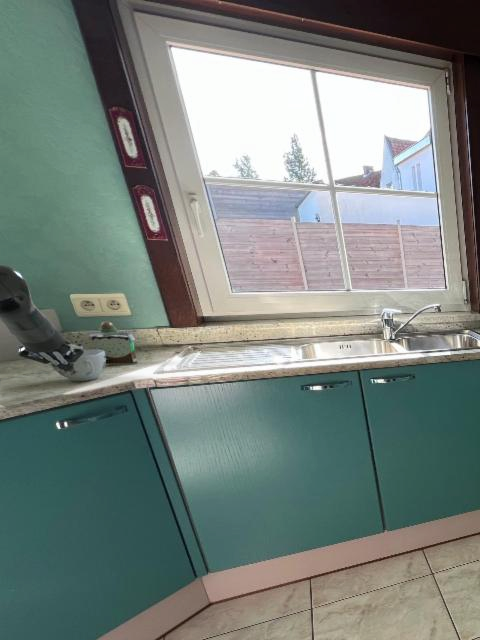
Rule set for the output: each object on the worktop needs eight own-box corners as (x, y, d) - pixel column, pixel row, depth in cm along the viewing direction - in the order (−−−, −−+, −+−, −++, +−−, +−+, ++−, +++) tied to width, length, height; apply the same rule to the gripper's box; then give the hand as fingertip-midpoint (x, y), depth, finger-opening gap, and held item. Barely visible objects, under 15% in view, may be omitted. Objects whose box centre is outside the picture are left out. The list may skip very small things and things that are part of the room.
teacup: (47, 380, 146) (37, 353, 143) (102, 372, 156) (93, 347, 153) (68, 387, 139) (57, 359, 137) (124, 379, 150) (115, 353, 147)
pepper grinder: (113, 357, 178) (102, 322, 173) (105, 356, 179) (93, 321, 174) (129, 355, 182) (118, 321, 177) (120, 354, 183) (109, 320, 179)
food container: (151, 360, 175) (142, 332, 171) (139, 364, 169) (129, 334, 165) (111, 360, 173) (101, 331, 169) (97, 364, 167) (87, 334, 163)
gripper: (69, 317, 128) (99, 355, 143) (-4, 319, 122) (35, 359, 136) (70, 340, 126) (100, 377, 140) (-5, 343, 120) (35, 381, 134)
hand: (68, 368), depth 138 cm, fingers closed
